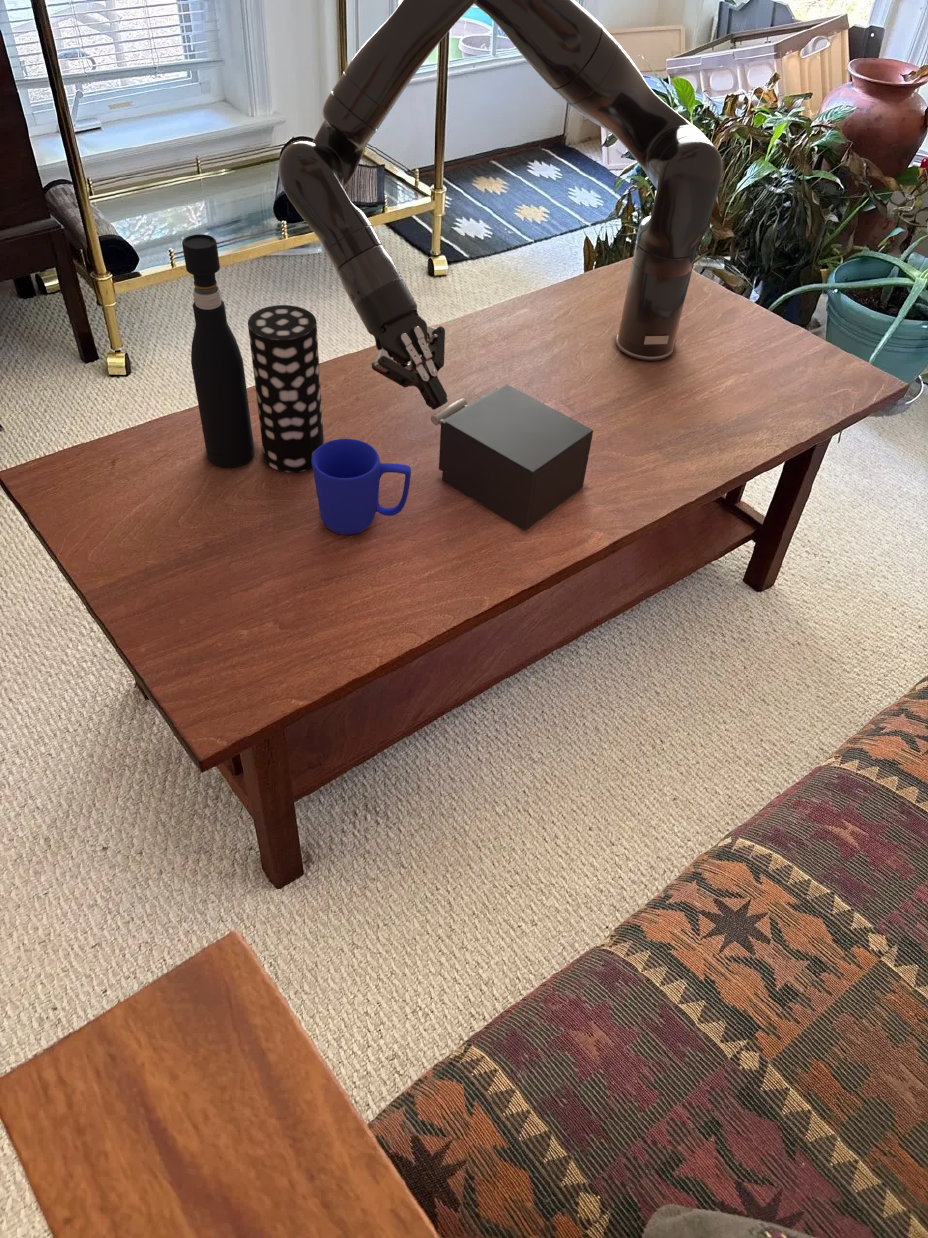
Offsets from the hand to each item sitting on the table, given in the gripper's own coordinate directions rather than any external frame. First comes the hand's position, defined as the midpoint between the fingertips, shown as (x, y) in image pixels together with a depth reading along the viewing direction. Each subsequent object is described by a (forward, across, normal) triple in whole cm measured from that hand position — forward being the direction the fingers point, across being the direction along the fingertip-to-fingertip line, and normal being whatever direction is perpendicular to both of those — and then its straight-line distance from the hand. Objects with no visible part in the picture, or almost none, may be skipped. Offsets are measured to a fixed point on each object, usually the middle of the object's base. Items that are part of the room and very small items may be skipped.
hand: (440, 405), depth 131 cm
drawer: (+10, 0, -3) cm, 11 cm away
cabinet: (+14, 0, -5) cm, 15 cm away
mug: (+8, -20, +1) cm, 21 cm away
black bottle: (-8, -23, +17) cm, 30 cm away
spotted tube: (-4, -17, +13) cm, 21 cm away
